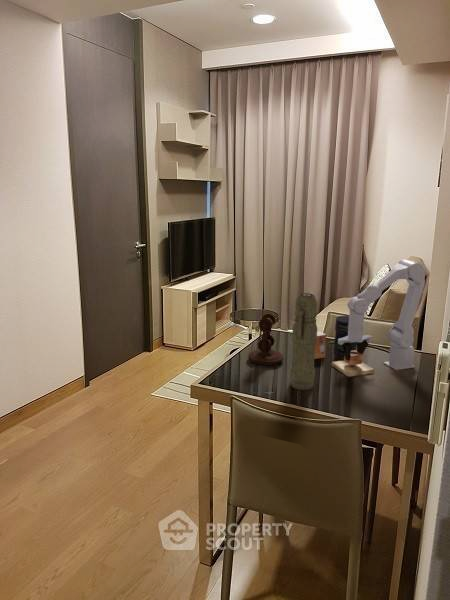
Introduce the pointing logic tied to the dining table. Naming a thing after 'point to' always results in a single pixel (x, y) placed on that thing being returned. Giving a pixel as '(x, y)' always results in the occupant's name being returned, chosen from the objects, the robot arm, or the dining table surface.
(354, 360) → the bead
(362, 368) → the lacing board
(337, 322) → the storage jar
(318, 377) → the dining table surface
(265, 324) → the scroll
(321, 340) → the small box
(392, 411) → the dining table surface
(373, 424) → the dining table surface
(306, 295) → the grey-green tall column
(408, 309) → the robot arm
